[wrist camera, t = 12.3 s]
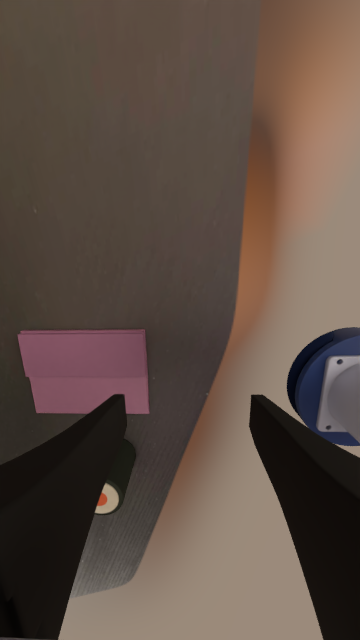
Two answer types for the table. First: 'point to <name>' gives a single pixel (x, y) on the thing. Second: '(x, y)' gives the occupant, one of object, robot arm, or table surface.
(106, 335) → the napkin
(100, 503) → the sushi roll
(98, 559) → the table surface
